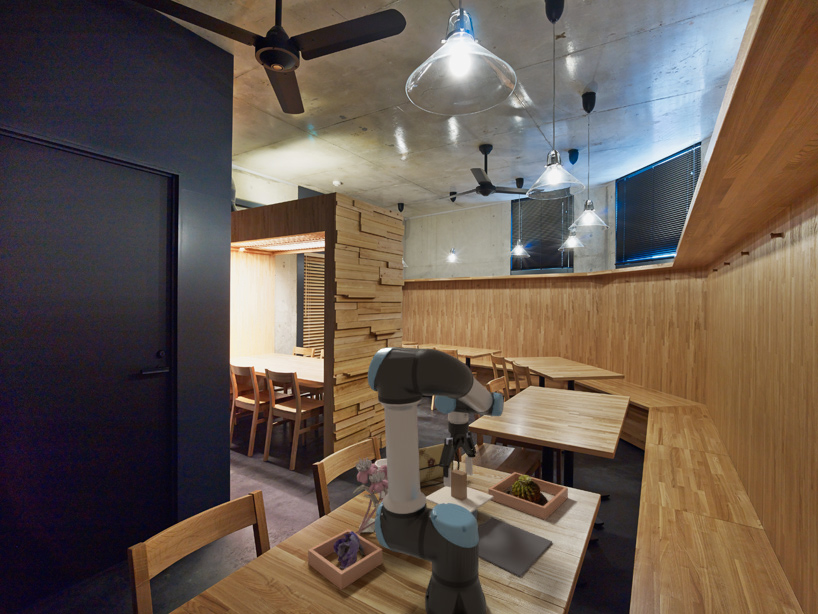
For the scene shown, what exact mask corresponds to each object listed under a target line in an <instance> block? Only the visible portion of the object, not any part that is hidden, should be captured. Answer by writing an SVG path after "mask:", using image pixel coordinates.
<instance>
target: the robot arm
mask: <svg viewBox="0 0 818 614" xmlns="http://www.w3.org/2000/svg"><path fill="white" fill-rule="evenodd" d="M367 383H368V385H369V387H370V389H371V390H372V391H374V392H376V393H377V400H378V403H380V404H381V405H382V406H383V408H384V409H383V410H384V429H385V434H384V435H385V452H386V459H387V478H388V494H386V496H385V497H384V499H383V498H382V499H383V501H382V500H381V501H382V502H381V501H380V502H379V504H380V505H379V507H378V509H377V512H376V511H375V515H377V517H376V518H375V517H374V518H375V531H374V532H375V536H376V537H375V538H376V540H377V541H378V543H379V545H381V546H382V547H384V548H385V549H388V550H389V551H392V552H395V553H400V554H403V555H406V556H410V557H414V558H417V559H421V560H424V561H427V562H430V563H431V576H430V579H429V580H428V584H427V588H426V591H425V594H424V595H425V596H424V607H425V608H424V609H425V612H426V614H487V601H486V600H487V599H486V596H485V593H484V590H483V588H482V584H481V580H480V577H479V567H480V566H479V557H478V542H479V534H478V527H479V526H478V520H477V519H476V518H475V517H474V516H473V514H472V513H471V512H470V511H469V510H468V509H466V508H464V507H462V506H460V505H457V504H452V503H447V504H445V503H442V504H438V505H436V504H435V506H434V507H433V508H430V507H428V505H427V500H426V497H427V496H426V495H425V494H424V493H423V492H422V491H421V488H420V486H421V483H420V471H419V449H420V448H419V430H418V425H419V424H418V404H419V403H421V402H422V401H423V396H429V397H430V396H431V397H432V396H433V397H434V396H435V397H434V407H435V408H436V410H437V411H438V412H439V413H441V414H445V415H447V420H448V422H447V431H448V433H449V434H450V437H444V443H443V444H444V447H443V451H442V455H441V458H440V462H439V466H440V467H443V477H442V478H443V482H444V483H443V486H444V487H445V486H448V487H451V468H450V464H451V462H452V459H453V457H454V455H455V452H456V451H458V449H460V448H462V450H463V451H464V453H465V454H466V455H465V459H464V460H465V463H464V465H465V471H464V472H466V473H467V476H468V475H469V476H473V475H474V474H473V472H474V471H473V470H474V469H473V468H474V467H473V466H474V465H473V460H474V458H476V454H477V449H476V447H475V443H474V440H473V436H472V431H470V430H469V429H470V427H469V425H470V424H469V423H470V422H469V420H470V419H469V418H470V417H469V414H471V415H472V414H473V415H481V416H488V417H489V416H490V417H500V416H502V414H503V413H504V404H505V403H504V395H503V394H502V393H500V392H499V393H498V392H494V391H492V392H491V391H489V390H488V389H487V388H486V387H485V386H484V385H482V384H481V382H480V381H478V380H477V379H476V378H475V377H474V373H473V372H472V369H471V368H470V367H469V366H468V365H466V364H465V363H464V362H463V361H462V360H460V359H458V358H457V357H456V356H455V357H454V356H453V355H451V354H449V353H447V352H445V351H442V350H438V349H434V348H419V347H418V348H416V347H400V346H393V347H382V348H381V349H378V351H377V352H376V353H375V354H374V355H373V357H372V359H371V360H370V363H369V367H368V371H367ZM452 445H453V447H452ZM455 456H456V455H455ZM454 458H455V457H454Z"/></svg>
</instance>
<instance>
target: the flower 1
mask: <svg viewBox="0 0 818 614" xmlns="http://www.w3.org/2000/svg"><path fill="white" fill-rule="evenodd" d="M349 535H350V536H349ZM344 536H345V538H342V539H338V540H337V541H336V542H335V543H334V545H333V547H334V552H333V553H335V554H336V555H337V556H338V559H337V561H338V562H340V566H339V569H342V570H345V569H346V568H348V567H349V566H351V565H353V564H354V563H356V562H358V561H357V560H358V552H360V554H361V556H362V555H363V556H364V549H363V546H362V545H361V544H360V540H359V537H358V536H357V535H356V534H355V531H353V530H351V532H349V534H344ZM349 537H350V538H349ZM358 549H359V550H360V551H358Z"/></svg>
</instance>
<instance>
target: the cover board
mask: <svg viewBox="0 0 818 614" xmlns="http://www.w3.org/2000/svg"><path fill="white" fill-rule="evenodd" d="M492 498H493V496H492V495H489V494H488V493H486V492H483V491H481V490H477V489H474V488H473V487H468V474H467V473H466V472H465V471H462V470H460V469H459V470H457V468H455V469H453V471H451V487H448V486H445V485H444V487H441V488H439V489H438V490H436V491H434V492H432V493H431V494H429V495H427V496H426V502H430V503H432V504H435V506H436V505H438V504H442V503H445V504H447V503H452V504H457V505H460V506H462V507H464V508H466V509H468V510H469V511H470V512H471V513H472V512H473V511H475V510H476V509H477V510H478V509H480V508H481V507H482V506H484V505H485V504H487V503H489V502H490V501H492V500H491V499H492Z"/></svg>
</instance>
